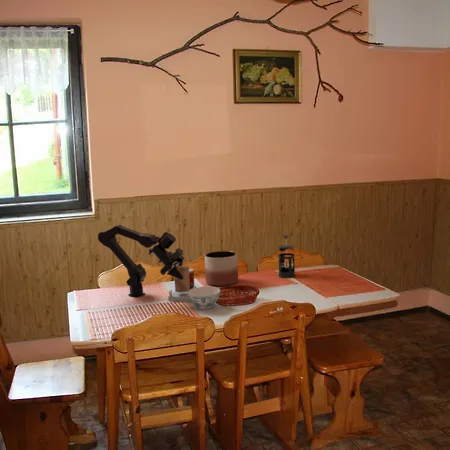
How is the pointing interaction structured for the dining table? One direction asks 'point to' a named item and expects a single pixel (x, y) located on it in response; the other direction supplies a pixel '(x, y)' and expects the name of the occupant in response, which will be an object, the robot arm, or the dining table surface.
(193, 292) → the chinaware
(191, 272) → the canned food
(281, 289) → the dining table surface
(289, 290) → the dining table surface
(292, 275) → the french press
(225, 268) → the planter
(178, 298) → the peg seat
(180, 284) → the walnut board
